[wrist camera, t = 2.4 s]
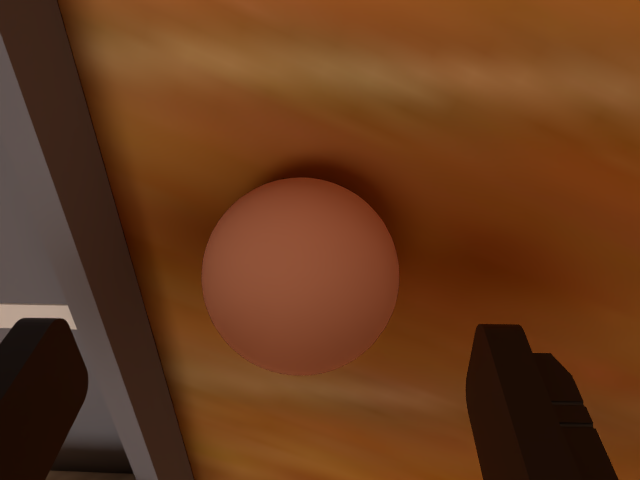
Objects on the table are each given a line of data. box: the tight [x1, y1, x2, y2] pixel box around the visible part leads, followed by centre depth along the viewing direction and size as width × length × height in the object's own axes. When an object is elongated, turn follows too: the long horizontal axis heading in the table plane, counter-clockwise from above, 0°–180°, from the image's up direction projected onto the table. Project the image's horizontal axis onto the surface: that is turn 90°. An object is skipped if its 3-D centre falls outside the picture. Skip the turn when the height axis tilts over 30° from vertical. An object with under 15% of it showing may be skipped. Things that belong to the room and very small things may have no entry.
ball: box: [201, 177, 399, 375], centre depth 13 cm, size 5×5×5 cm
